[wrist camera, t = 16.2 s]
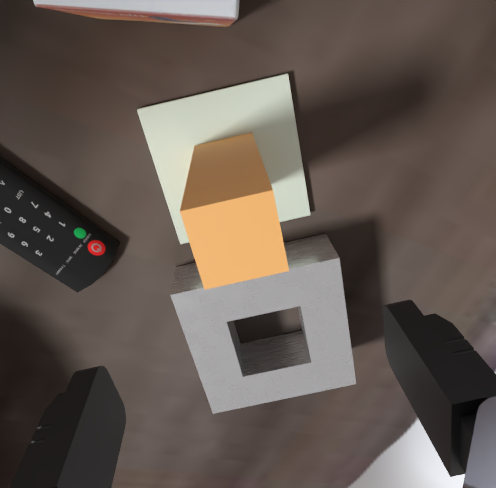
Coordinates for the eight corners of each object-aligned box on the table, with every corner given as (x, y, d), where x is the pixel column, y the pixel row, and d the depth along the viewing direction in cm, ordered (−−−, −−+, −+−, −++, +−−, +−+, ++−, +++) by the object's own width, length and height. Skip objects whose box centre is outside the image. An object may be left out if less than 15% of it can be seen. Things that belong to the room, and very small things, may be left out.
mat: (180, 241, 32) (180, 244, 31) (137, 108, 27) (136, 109, 27) (309, 213, 31) (310, 214, 31) (287, 73, 27) (288, 73, 27)
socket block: (213, 378, 38) (213, 413, 34) (175, 266, 33) (170, 294, 29) (342, 351, 38) (356, 383, 34) (326, 233, 32) (339, 257, 29)
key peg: (194, 145, 28) (179, 211, 17) (252, 132, 28) (273, 189, 17) (209, 199, 30) (204, 289, 19) (263, 187, 30) (289, 271, 19)
